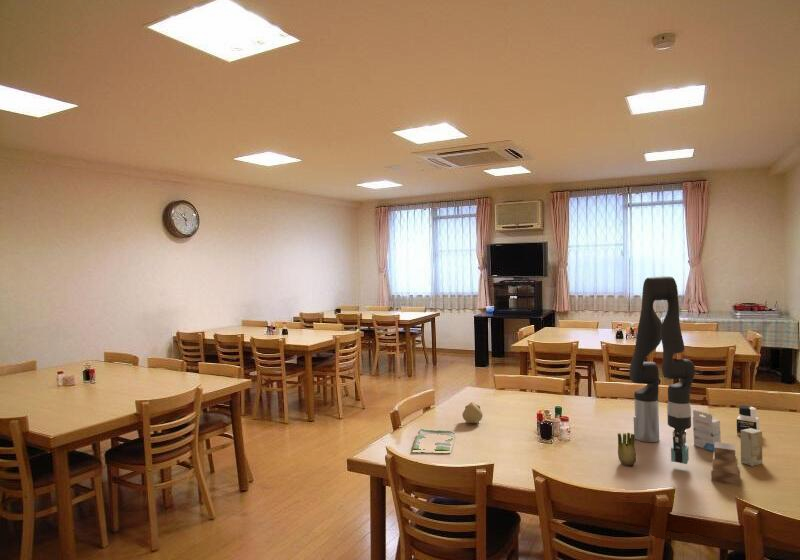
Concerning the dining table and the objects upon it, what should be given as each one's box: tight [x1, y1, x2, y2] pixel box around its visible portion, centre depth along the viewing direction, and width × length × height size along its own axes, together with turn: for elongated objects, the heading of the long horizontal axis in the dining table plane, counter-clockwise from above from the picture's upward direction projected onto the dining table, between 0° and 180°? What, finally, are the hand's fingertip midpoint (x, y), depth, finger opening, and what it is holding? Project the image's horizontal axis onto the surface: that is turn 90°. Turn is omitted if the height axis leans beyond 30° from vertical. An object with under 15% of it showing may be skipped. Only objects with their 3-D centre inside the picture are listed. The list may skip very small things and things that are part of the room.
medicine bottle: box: [736, 405, 760, 436], centre depth 216 cm, size 7×7×12 cm
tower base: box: [710, 464, 741, 487], centre depth 173 cm, size 8×8×4 cm
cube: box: [670, 444, 690, 465], centre depth 184 cm, size 5×5×5 cm
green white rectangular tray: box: [412, 428, 456, 451], centre depth 219 cm, size 17×23×4 cm
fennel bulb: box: [617, 432, 637, 467], centre depth 189 cm, size 6×5×12 cm
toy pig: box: [462, 402, 484, 424], centre depth 246 cm, size 10×12×11 cm
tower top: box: [713, 442, 736, 462], centre depth 173 cm, size 6×6×4 cm
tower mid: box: [712, 453, 739, 474], centre depth 173 cm, size 7×7×4 cm
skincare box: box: [740, 428, 763, 467], centre depth 186 cm, size 6×4×12 cm
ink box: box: [692, 409, 722, 452], centre depth 203 cm, size 9×5×15 cm, turn 23°
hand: (679, 459), depth 184 cm, fingers closed on cube, 5 cm apart
